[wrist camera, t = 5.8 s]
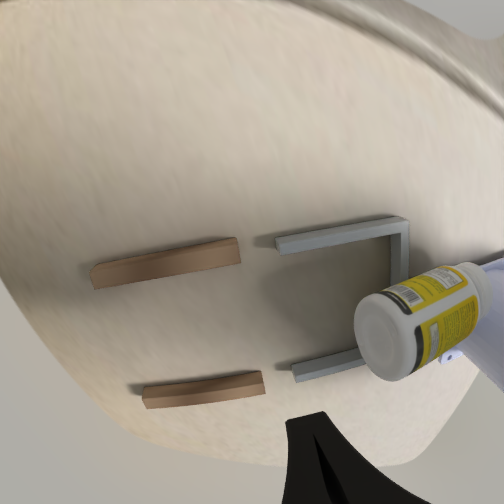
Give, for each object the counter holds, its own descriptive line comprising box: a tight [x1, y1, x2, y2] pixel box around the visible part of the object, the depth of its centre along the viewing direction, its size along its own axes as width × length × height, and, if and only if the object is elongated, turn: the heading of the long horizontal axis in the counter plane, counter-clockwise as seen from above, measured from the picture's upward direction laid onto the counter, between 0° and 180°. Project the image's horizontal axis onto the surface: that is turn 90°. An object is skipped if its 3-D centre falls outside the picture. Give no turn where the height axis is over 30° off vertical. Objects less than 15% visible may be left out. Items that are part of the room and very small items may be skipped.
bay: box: [275, 216, 409, 383], centre depth 17 cm, size 8×9×1 cm
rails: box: [89, 238, 266, 409], centre depth 17 cm, size 8×10×1 cm
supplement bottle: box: [354, 262, 493, 381], centre depth 15 cm, size 5×5×8 cm
